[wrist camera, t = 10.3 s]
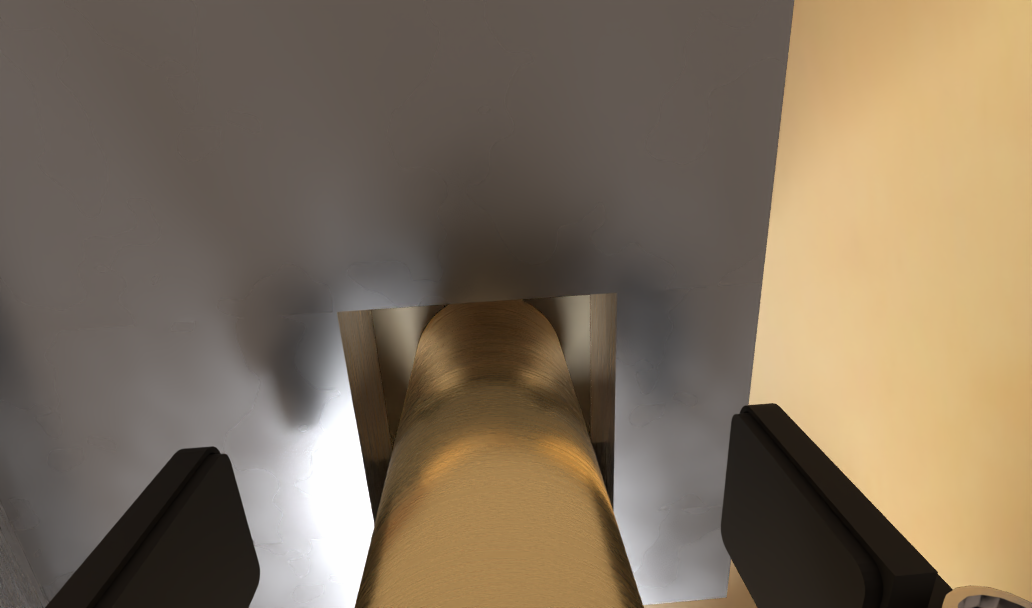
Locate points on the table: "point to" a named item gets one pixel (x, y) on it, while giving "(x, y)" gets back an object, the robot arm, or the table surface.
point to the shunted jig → (368, 252)
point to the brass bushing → (494, 477)
